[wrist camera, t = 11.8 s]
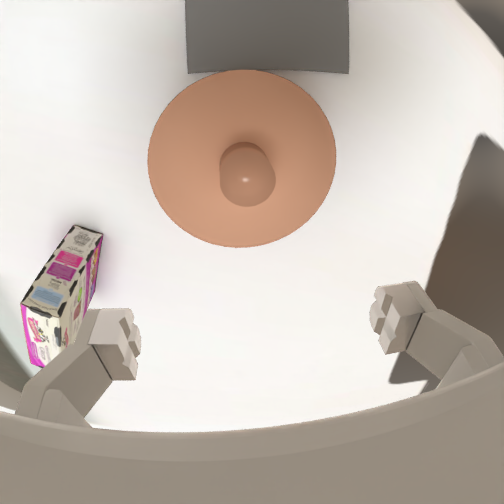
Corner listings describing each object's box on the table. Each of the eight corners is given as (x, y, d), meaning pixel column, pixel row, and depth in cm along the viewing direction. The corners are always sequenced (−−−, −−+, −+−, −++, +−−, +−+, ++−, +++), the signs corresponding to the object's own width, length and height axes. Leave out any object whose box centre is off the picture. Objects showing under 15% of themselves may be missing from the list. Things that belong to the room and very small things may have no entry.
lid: (140, 80, 22) (123, 82, 17) (335, 71, 23) (359, 73, 18) (164, 248, 30) (156, 279, 26) (326, 236, 31) (342, 264, 27)
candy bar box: (71, 222, 38) (18, 301, 24) (104, 232, 39) (60, 317, 26) (66, 283, 43) (28, 365, 29) (95, 292, 45) (64, 378, 31)
